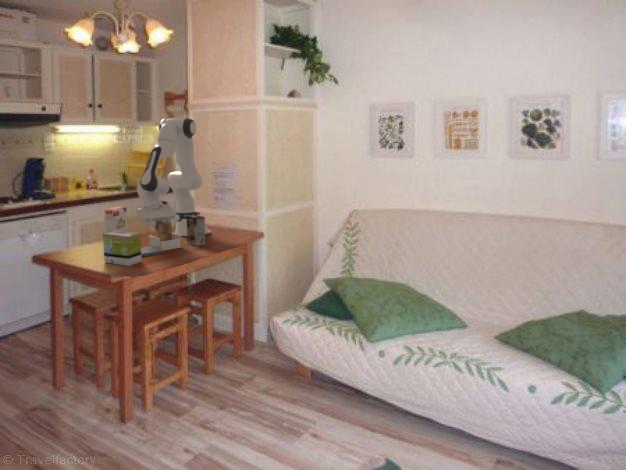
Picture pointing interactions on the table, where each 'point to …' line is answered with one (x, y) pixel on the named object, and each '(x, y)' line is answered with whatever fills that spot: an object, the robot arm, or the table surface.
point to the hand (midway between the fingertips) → (162, 226)
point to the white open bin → (165, 242)
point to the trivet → (150, 251)
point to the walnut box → (165, 231)
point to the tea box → (122, 248)
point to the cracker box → (116, 219)
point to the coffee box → (196, 230)
